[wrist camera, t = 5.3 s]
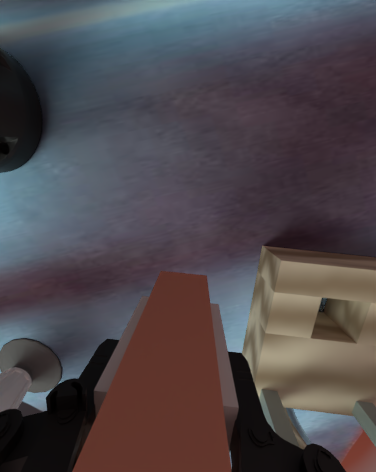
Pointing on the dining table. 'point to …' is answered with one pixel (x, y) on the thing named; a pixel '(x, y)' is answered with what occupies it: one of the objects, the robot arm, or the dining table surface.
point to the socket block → (314, 329)
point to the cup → (26, 371)
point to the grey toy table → (364, 412)
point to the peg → (164, 390)
